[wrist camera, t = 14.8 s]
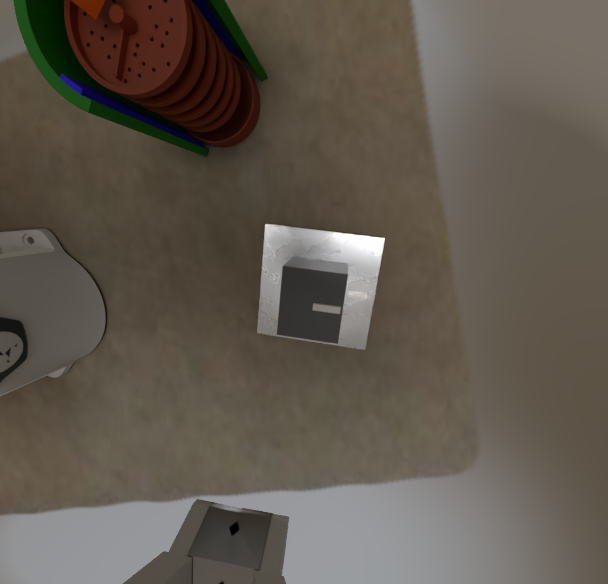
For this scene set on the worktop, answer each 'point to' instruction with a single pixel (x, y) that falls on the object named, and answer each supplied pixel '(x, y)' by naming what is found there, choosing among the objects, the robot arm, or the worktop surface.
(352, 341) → the shaft plate
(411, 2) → the worktop surface
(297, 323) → the dark grey cube
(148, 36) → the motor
